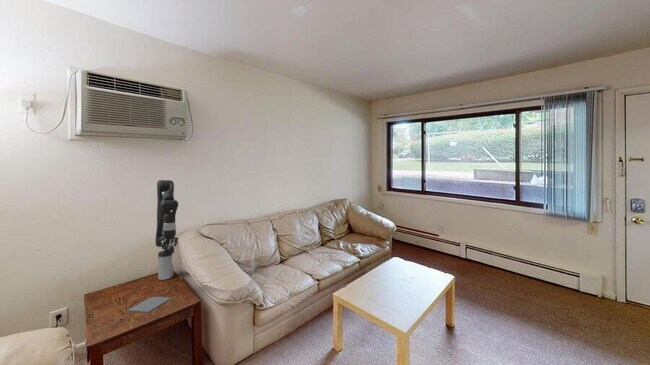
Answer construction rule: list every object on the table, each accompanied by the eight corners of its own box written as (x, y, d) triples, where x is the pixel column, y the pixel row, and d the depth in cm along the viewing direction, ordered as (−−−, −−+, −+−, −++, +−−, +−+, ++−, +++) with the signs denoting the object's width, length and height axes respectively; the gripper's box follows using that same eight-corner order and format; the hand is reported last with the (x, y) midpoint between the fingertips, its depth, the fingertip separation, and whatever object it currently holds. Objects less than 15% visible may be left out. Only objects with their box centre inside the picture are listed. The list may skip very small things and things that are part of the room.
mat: (152, 297, 167) (152, 296, 167) (171, 298, 165) (171, 297, 165) (127, 311, 149) (127, 310, 149) (148, 312, 147) (148, 311, 147)
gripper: (172, 227, 181) (172, 251, 181) (156, 230, 167) (156, 256, 167) (181, 227, 180) (181, 251, 179) (166, 231, 165) (166, 257, 165)
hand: (169, 253), depth 173 cm, fingers open, 3 cm apart
